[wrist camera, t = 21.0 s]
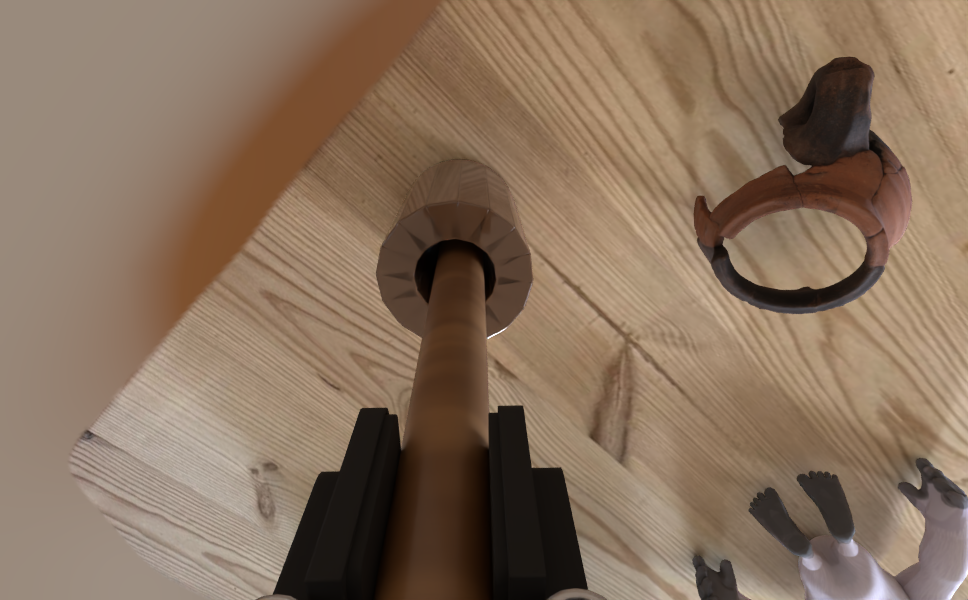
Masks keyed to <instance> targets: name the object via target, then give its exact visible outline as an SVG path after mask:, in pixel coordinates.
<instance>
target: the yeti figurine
mask: <svg viewBox="0 0 968 600" xmlns="http://www.w3.org/2000/svg"><path fill="white" fill-rule="evenodd" d="M916 466H917V468H918V469H919V471H920V473H921V478H922V486H921V489H919V490H918V489H917V488H916V487H915V486H913V485H912V484H910V483H907V482H901V483H899V485H898V489H899V490H900V491H901V492H902V493H903V494H904V495H905V496H906V497H907V498H908V500H909V501H910V502H911V503H912V504H913V505H914V506H915V507H916V508H917V509H918V510H919V511H920V512H921V513H922V515H923V516H924V518H925V532H924V536H923V538H922V541H921V543H920V546H919V555H918V558H919V562H918V563H916V564H914V565H912V566H910V567H908V568H907V569H905V570H903V571H902V572H900V573H899V574H898V575H896V576H892V575H891V574H890V573H888V572H887V571H885V570H884V569H882V568H881V567H880V565H879V564H878V563H877V562H876V560H875V559H874V558H873V557H872V555H871V554H870V553H869V552H868V551H867V550H866V549H865V548H864V547H863V546H861V545H860V544H859V543H857V542H855V541H854V540H852V537H853V535H854V533H855V528H854V524H853V520H852V515H851V512H850V509H849V505H848V502H847V500H846V497H845V494H844V491H843V489H842V487H841V484H840V482H839V480H838V477H837V476H836V475H834V474H833V475H832V478H831V475H830V473H829V472H825V473H824V474H823V473H822V472H821V471H818V472H817V474H816V473H815V472H813V471H810V472H809V476H810V478H811V479H810V478H809V477H808V476H807V475H805V474H800V475H798V476H797V481H798V482H799V484H800V486H802V488H803V489H804V491H805V492H806V493H807V495H808V496H809V497H810V498H811V499H812V500H813V502H814V503H815V504H816V506H817V507H818V508H819V510H820V512H821V514H822V516H823V518H824V520H825V522H826V524H827V527H828V529H829V531H830V533H831V535H822V536H817V537H814V538H813V539H811V540H808V538H807V537H806V536H805V535H804V534H803V533H802V532H801V531H800V530H799V528H798V527H797V526H796V524H795V523H794V522H793V521H792V519H791V518H790V517H789V514H788V512H787V510H786V508H785V506H784V504H783V502H782V501H781V499H780V497H779V496H778V494H777V492H776V491H775V489H773V488H771V487H770V488H767V489H765V492H764V494H765V496H764V494H763V493H761V492H758V493H757V497H758V498H754V499H753V502H754V503H753V502H751V503H750V506H751V507H752V508H753V509H752V508H750V509H749V512H750V513H751V514H752V515H753V516H754V517H755V518H756V519H757V521H758V522H759V523H760V524H761V525H762V526H763V527H764V528H765V529H766V530H767V531H768V532H769V533H770V534H771V535H772V536H773V537H774V538H775V539H777V540H778V541H779V542H780V543H781V544H782V545H783V546H784V547H786V548H787V549H788V550H789V551H790V552H791V553H793V554H794V555H798V556H799V560H798V568H799V573H800V578H801V581H802V583H803V586H804V588H805V600H951V597H952V595H953V594H954V592H955V591H956V590H957V589H958V587H959V585H960V584H961V583H962V582H963V581H964V579H965V577H966V576H967V573H968V498H967V495H966V494H965V493H964V491H963V490H961V489H960V488H959V487H958V486H957V485H956V484H954V483H953V482H952V481H951V480H950V479H948V478H947V477H946V476H944V474H943V473H942V471H940V470H938V469H935V468H934V467H933V465H932V464H931V463H930V462H929V461H928V460H927V459H925V458H918V459H917V460H916ZM817 475H818V477H817ZM824 475H825V476H824ZM693 565H694V567H695V569H696V574H695V576H696V584H697V589H698V593H699V596H700V598H701V600H751V599H748V598H747V597H745V596H744V595H742V594H741V593H740V592H739V591H738V589H737V584H736V579H735V576H734V572H733V568H732V565H731V562H730V561H728V560H722V562H721V563H720V572H716V571H714V570H712V569H711V568H709V567H708V566H706V564H705V562H704V560H703V558H702V557H701V556H697V555H696V556H695V557H694V558H693Z"/></svg>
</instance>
